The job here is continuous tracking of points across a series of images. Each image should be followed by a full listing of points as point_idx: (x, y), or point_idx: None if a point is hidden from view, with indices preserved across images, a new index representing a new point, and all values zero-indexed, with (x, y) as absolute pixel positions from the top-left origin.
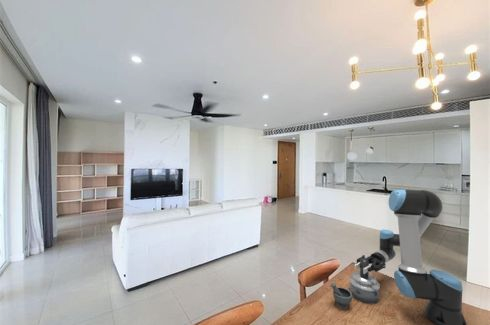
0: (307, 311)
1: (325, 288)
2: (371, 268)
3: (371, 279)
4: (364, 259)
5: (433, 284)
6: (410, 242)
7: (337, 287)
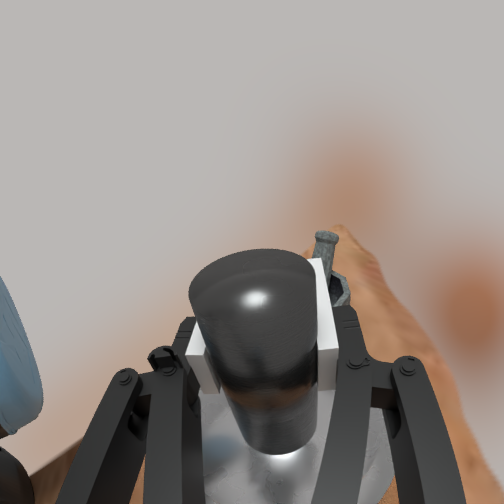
0: (340, 250)
1: (423, 344)
2: (172, 346)
3: (212, 431)
4: (260, 293)
5: None
6: None
7: (346, 296)
